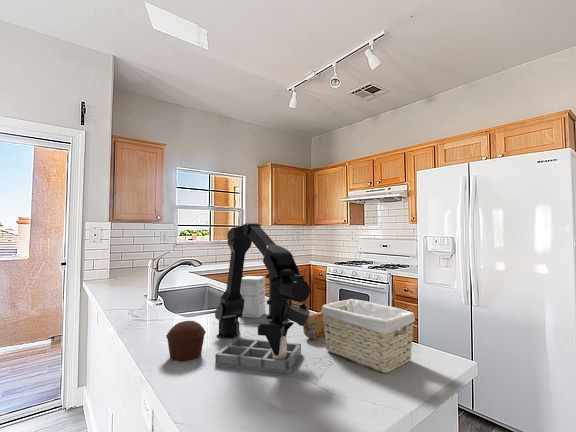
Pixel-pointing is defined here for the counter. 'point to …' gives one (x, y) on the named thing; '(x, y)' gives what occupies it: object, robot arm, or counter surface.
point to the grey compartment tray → (257, 356)
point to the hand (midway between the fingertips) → (278, 352)
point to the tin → (314, 326)
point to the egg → (281, 350)
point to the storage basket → (369, 333)
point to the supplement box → (253, 296)
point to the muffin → (185, 341)
